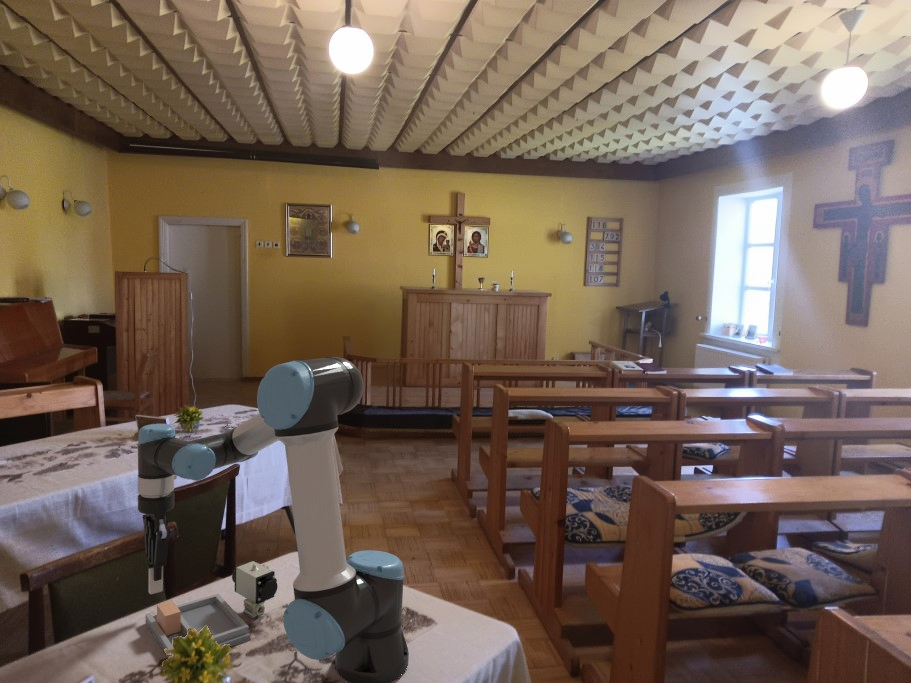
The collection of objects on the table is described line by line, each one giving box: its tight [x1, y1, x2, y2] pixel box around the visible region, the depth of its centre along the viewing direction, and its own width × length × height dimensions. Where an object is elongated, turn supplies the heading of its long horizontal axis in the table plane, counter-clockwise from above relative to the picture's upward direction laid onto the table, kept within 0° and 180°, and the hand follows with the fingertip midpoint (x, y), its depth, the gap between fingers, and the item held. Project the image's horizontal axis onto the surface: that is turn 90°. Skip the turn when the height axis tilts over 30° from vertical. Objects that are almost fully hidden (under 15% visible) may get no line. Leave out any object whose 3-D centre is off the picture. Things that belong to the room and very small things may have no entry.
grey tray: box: [145, 593, 251, 658], centre depth 139 cm, size 20×16×4 cm
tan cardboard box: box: [156, 600, 181, 636], centre depth 138 cm, size 6×3×4 cm, turn 41°
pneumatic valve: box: [231, 559, 278, 619], centre depth 147 cm, size 6×12×12 cm, turn 53°
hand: (155, 591), depth 144 cm, fingers closed
